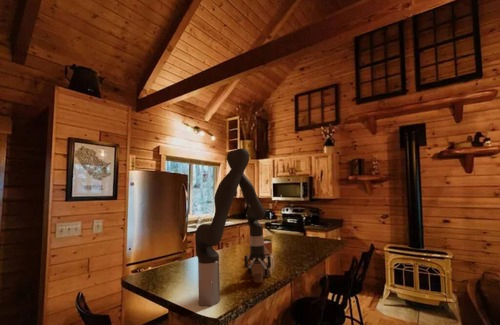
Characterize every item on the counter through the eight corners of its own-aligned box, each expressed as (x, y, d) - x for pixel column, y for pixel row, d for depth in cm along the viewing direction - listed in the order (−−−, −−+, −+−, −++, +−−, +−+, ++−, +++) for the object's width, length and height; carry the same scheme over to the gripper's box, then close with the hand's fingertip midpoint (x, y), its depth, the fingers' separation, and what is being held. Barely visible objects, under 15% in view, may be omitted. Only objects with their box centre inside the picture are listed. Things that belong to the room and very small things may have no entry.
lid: (269, 263, 143) (269, 257, 143) (250, 263, 145) (250, 256, 146) (274, 255, 160) (274, 249, 161) (256, 254, 163) (256, 249, 163)
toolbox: (270, 277, 142) (270, 264, 143) (251, 276, 144) (250, 263, 145) (274, 267, 159) (274, 255, 160) (257, 266, 162) (256, 255, 163)
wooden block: (261, 282, 135) (260, 262, 136) (253, 282, 135) (253, 261, 136) (262, 279, 138) (262, 260, 139) (255, 279, 139) (254, 259, 140)
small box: (262, 264, 166) (261, 243, 167) (257, 262, 171) (256, 242, 173) (272, 262, 171) (271, 241, 172) (266, 260, 176) (266, 240, 177)
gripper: (242, 245, 137) (243, 277, 135) (269, 245, 134) (270, 278, 132) (245, 242, 144) (246, 272, 143) (271, 242, 141) (272, 273, 139)
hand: (258, 275), depth 137 cm, fingers open, 7 cm apart
